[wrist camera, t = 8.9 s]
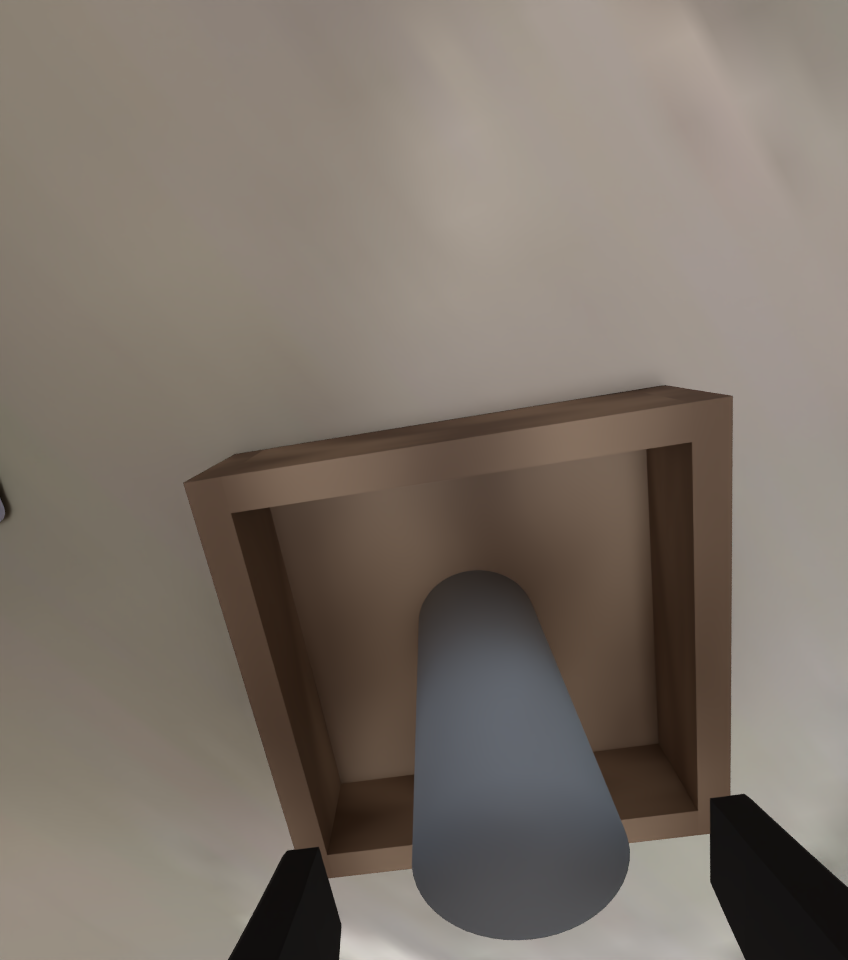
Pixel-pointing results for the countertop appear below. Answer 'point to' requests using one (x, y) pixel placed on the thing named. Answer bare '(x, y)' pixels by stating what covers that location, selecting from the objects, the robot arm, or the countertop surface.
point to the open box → (491, 547)
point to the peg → (505, 772)
